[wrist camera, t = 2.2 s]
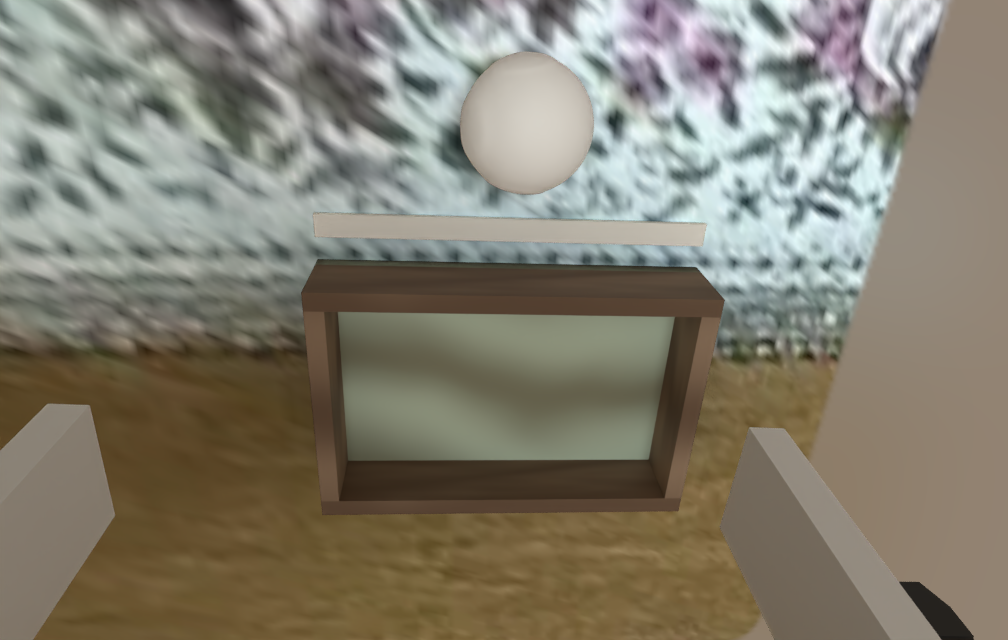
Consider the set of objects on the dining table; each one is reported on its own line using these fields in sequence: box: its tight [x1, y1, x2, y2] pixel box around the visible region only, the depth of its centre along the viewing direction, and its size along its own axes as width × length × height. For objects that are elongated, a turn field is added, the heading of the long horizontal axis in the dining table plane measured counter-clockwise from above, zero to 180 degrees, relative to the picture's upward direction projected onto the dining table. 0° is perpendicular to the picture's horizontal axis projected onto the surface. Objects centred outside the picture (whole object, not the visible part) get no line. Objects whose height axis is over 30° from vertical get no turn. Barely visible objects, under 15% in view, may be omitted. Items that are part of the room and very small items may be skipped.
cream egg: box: [460, 52, 594, 194], centre depth 24 cm, size 5×5×5 cm
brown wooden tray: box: [301, 259, 725, 515], centre depth 30 cm, size 11×17×4 cm, turn 87°
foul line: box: [313, 212, 707, 246], centre depth 28 cm, size 1×17×1 cm, turn 88°
